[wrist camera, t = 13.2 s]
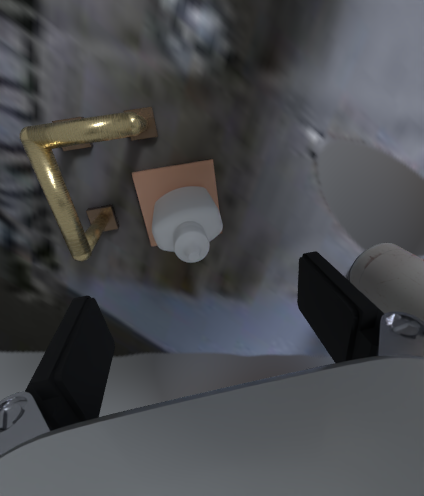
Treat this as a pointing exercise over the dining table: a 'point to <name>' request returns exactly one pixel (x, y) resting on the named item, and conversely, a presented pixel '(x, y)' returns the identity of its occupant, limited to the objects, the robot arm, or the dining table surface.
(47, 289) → the dining table surface
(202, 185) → the terracotta tile
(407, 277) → the thermos bottle
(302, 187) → the dining table surface
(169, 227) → the eye dropper bottle
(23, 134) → the bent handrail
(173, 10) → the dining table surface
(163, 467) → the robot arm
